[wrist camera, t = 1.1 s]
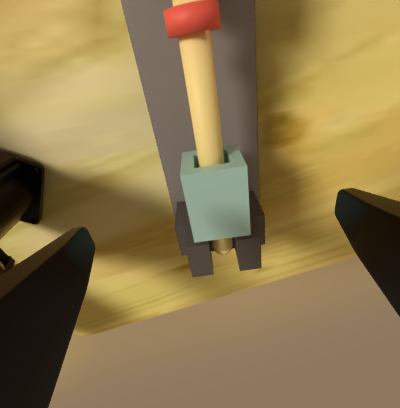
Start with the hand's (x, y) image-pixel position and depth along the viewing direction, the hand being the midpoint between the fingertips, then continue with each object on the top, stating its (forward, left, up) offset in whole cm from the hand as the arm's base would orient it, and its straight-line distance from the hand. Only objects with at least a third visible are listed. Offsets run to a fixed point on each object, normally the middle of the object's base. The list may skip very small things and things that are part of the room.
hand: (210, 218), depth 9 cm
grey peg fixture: (+2, 0, -13) cm, 13 cm away
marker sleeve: (-3, -2, -9) cm, 10 cm away
